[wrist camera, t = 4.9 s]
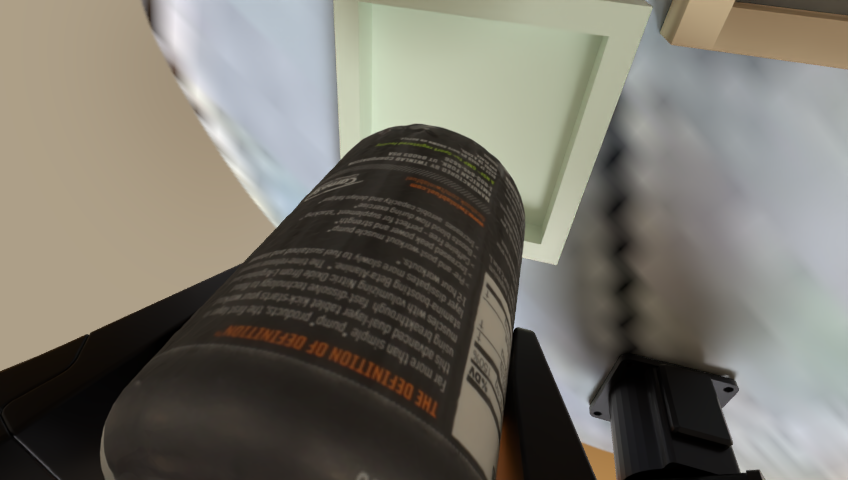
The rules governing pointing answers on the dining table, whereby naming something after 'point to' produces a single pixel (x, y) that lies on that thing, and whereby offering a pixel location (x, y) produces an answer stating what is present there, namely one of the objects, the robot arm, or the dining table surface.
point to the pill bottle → (347, 333)
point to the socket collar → (759, 31)
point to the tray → (494, 86)
